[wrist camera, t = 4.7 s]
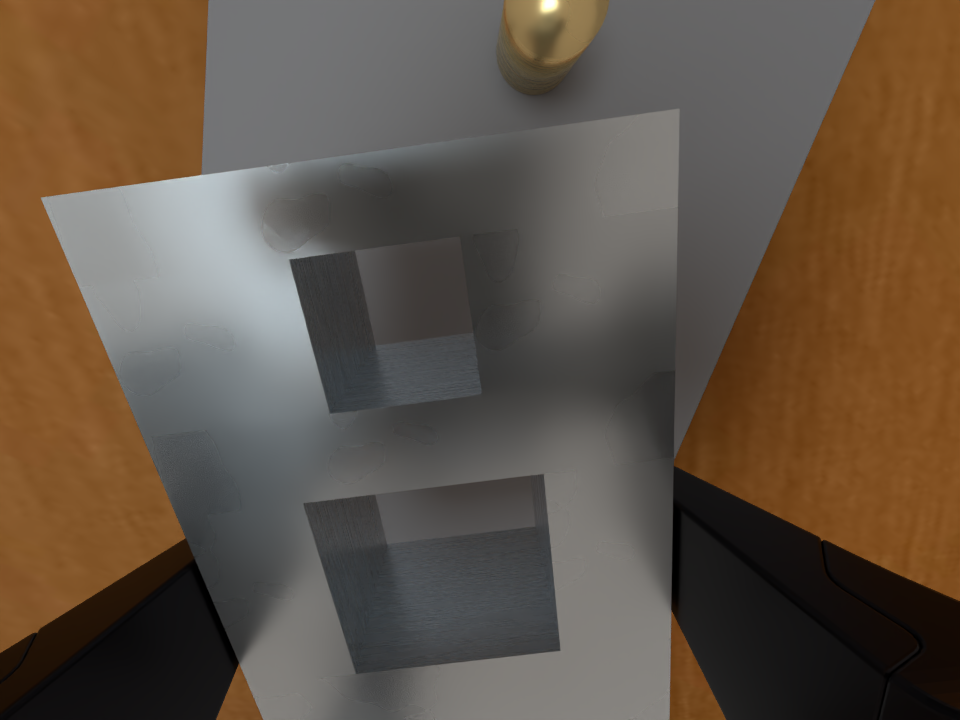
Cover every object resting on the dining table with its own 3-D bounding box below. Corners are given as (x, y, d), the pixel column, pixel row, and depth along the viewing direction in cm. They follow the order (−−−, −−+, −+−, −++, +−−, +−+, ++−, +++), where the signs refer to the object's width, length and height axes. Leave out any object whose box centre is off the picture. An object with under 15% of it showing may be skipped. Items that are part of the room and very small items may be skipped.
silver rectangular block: (619, 653, 12) (668, 800, 9) (351, 684, 12) (313, 837, 9) (601, 143, 8) (679, 107, 5) (197, 200, 8) (41, 197, 5)
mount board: (609, 574, 21) (616, 592, 20) (202, 501, 19) (188, 517, 18) (918, -155, 12) (955, -184, 11) (248, -405, 11) (227, -465, 10)
